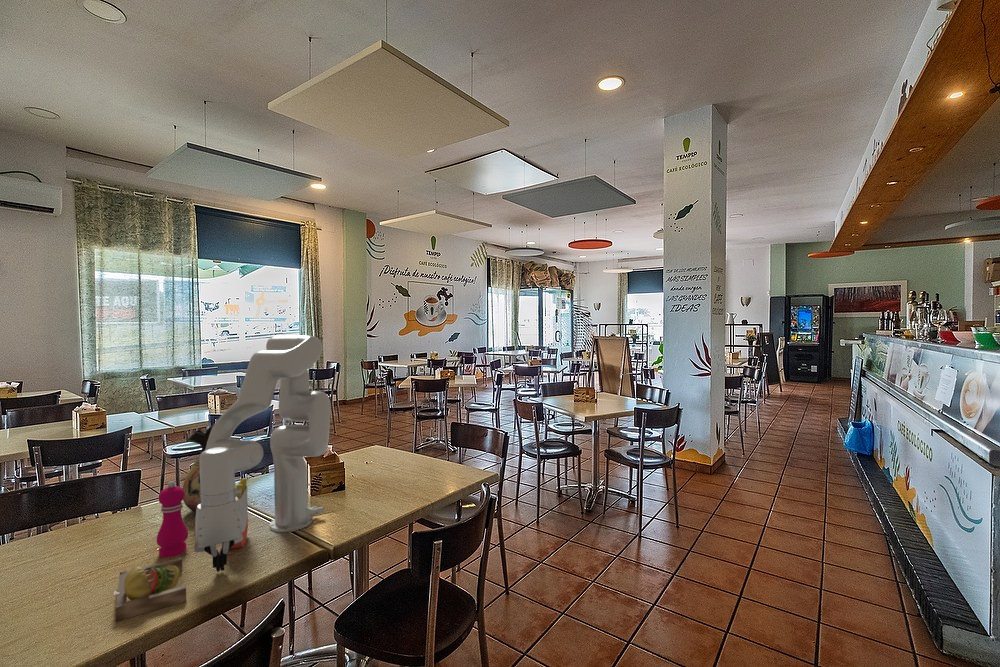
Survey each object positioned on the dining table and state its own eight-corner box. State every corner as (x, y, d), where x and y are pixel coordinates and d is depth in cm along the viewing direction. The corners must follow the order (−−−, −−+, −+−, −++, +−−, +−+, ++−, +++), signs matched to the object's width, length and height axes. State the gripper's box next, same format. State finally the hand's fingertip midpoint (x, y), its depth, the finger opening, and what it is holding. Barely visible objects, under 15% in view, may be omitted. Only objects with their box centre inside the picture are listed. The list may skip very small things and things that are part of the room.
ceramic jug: (176, 524, 150) (174, 430, 149) (188, 507, 164) (187, 421, 164) (237, 516, 156) (235, 426, 156) (244, 500, 170) (242, 417, 170)
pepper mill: (172, 560, 127) (170, 486, 127) (150, 557, 129) (148, 484, 128) (194, 547, 134) (193, 477, 134) (173, 545, 136) (172, 476, 135)
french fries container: (222, 554, 130) (221, 489, 130) (231, 537, 141) (230, 477, 140) (241, 551, 132) (240, 487, 132) (248, 535, 142) (247, 475, 142)
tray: (181, 568, 123) (181, 557, 123) (186, 600, 108) (186, 587, 108) (120, 584, 115) (119, 572, 115) (116, 621, 101) (115, 607, 101)
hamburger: (188, 573, 112) (134, 577, 102) (173, 604, 111) (116, 611, 101) (173, 558, 116) (119, 560, 106) (158, 588, 114) (102, 593, 104)
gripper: (248, 486, 127) (250, 554, 128) (181, 499, 118) (183, 572, 119) (253, 495, 121) (255, 565, 122) (183, 509, 112) (185, 585, 113)
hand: (219, 568), depth 120 cm, fingers closed
